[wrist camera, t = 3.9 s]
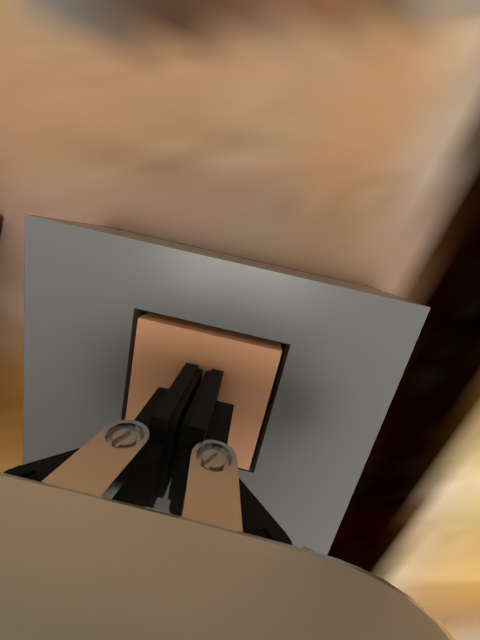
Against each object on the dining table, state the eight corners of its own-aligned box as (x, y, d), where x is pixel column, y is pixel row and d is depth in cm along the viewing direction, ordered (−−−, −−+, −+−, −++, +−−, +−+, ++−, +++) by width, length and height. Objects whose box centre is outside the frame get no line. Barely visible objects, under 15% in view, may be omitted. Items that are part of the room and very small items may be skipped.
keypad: (259, 610, 23) (258, 719, 18) (76, 564, 23) (21, 658, 18) (372, 287, 16) (430, 307, 10) (103, 226, 16) (24, 214, 11)
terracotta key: (251, 423, 16) (248, 470, 12) (152, 399, 16) (122, 439, 13) (276, 327, 14) (282, 351, 11) (166, 301, 14) (138, 317, 11)
